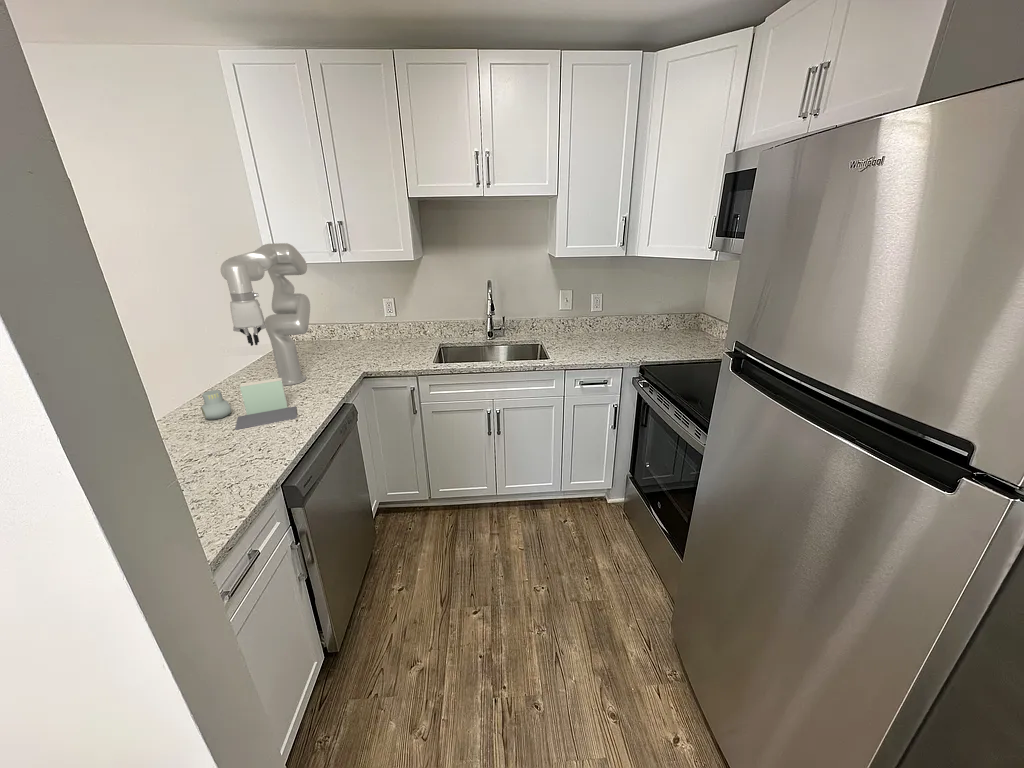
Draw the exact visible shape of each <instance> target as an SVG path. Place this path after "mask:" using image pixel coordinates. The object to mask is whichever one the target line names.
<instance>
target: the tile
mask: <svg viewBox="0 0 1024 768" xmlns="http://www.w3.org/2000/svg"><path fill="white" fill-rule="evenodd" d="M284 386H285V385H283V382H282V378H279V377H277V378H271V379H270V378H269V379H265V380H264V379H263V380H257V381H256V380H255V381H250V382H244V383H240V385H239V389H240V393H241V398H242V400H243V401H242V402H243V404H244V409H245V412H246V415H250V414H255V413H261V412H266V411H272V410H278V409H283V408H289V407H288V406H289V404H288V401H287V396H286V392H285V387H284Z"/></svg>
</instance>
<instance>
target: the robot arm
mask: <svg viewBox="0 0 1024 768" xmlns="http://www.w3.org/2000/svg"><path fill="white" fill-rule="evenodd" d="M307 270H308V264H307V261H306V260H305V258H304V257H303V256H302V254H301V253H300V251H299V250H298V249H297V248H296V247H295V246H293V245H292V244H290V243H288V242H284V243H283V242H282V243H279V242H278V243H277V242H276V243H274V242H273V243H265V244H263V245H261V246H259V247H257V249H255V250H254V251H249V252H246V253H243V254H238V255H234V256H232V257H229V258H227V259H225V260H224V261H223V262H222V263H221V266H220V274H221V276H222V277H223V279H224V280H226V282H227V287H228V291H229V295H230V298H231V301H230V303H229V306H230V313H231V314H230V315H231V319H232V323H233V328H232V329H233V332H238V333H241V334H242V335H244V336H245V337H246V339H247V343H248V344H250V346H253V345H255V346H258V345H259V343H260V339H259V335H258V334H259V333H260V332H261V331H262V330H264V329H265V330H266V333H267V335H268V337H269V340H270V344H271V348H272V352H273V357H274V362H275V366H276V370H277V374H278V378H282V382H283V386H293V385H298V384H300V383H303V382H305V381H306V379H307V377H306V375H304V374H302V370H301V364H300V360H299V356H298V355H299V354H298V349H297V346H296V342H295V341H294V339H293V338H292V337H291V336H298V335H299V336H301V335H306V333H308V330H309V324H310V317H311V316H310V315H311V302H310V299H309V297H308V296H307V295H306V294H305V293H297V292H296V293H295V287H294V284H293V283H292V282H291V281H290V280H289V279H287V278H286V276H302V275H305V274H306V273H307V272H308V271H307ZM266 271H267V273H268V275H269V278H270V279H271V282H272V285H273V292H272V298H271V299H272V300H271V310H272V312H273V313H274V314H270V315H268V316H266V317H265V316H264V315H263V314H264V313H263V310H262V307H261V303H260V301H259V300H258V299H256V298H258V297H260V295H259V293H258V292H255V291H254V289H253V285H252V282H256V281H261V280H262V279H264V276H265V272H266ZM264 317H265V318H264ZM248 328H253V335H252V334H251V333H250V331H249V329H248Z"/></svg>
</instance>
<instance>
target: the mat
mask: <svg viewBox="0 0 1024 768" xmlns="http://www.w3.org/2000/svg"><path fill="white" fill-rule="evenodd" d="M296 412H297V406H296V405H294V406H289V407H288V408H283V409H278V410H272V411H266V412H261V413H255V414H250V415H247V414H244V415H240V416H239V415H238V416H237V418H236V424H235V427H234V429H235V431H240V430H243V429H248V428H254V427H258V426H263V425H269V424H274V422H275V423H279V421H281V422H285V421H284V420H286V421H290V420H289V419H291V420H295V418H297V419H298V414H297V413H298V412H297V413H296Z"/></svg>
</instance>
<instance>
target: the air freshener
mask: <svg viewBox="0 0 1024 768" xmlns="http://www.w3.org/2000/svg"><path fill="white" fill-rule="evenodd" d="M201 396H202V399H203V405H201V407H200V410H201V412H202V414H203V417H204V418H205V419H206V420H209V421H210V420H213V421H214V420H218V419H222V418H225V417H227V416H229V415H230V414H231V413H232V407H231V404H230V403H229V401H228V400H226V399H223V398H224V397H223V394H222V391H221V390H218V389H214V390H213V389H212V390H208V391H205V392H203V393H202V395H201Z"/></svg>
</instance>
